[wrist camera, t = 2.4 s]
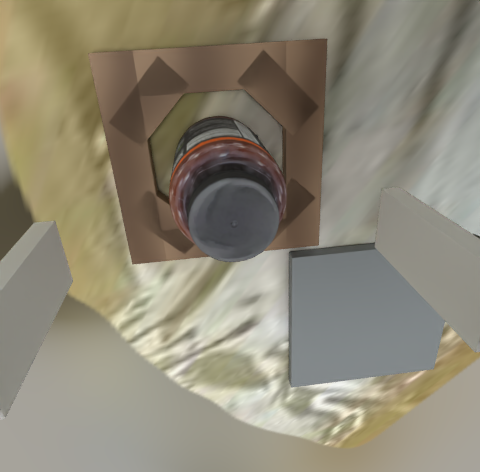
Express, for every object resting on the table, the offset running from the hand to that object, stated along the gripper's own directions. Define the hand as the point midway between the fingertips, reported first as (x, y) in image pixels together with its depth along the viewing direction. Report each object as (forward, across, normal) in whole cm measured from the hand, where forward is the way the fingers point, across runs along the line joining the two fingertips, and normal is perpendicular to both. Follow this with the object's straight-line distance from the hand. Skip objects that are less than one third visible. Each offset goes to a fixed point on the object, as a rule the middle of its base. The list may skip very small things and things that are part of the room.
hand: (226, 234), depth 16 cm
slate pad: (+12, -13, +15) cm, 23 cm away
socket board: (+12, -1, 0) cm, 12 cm away
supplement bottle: (+12, -1, 0) cm, 12 cm away
